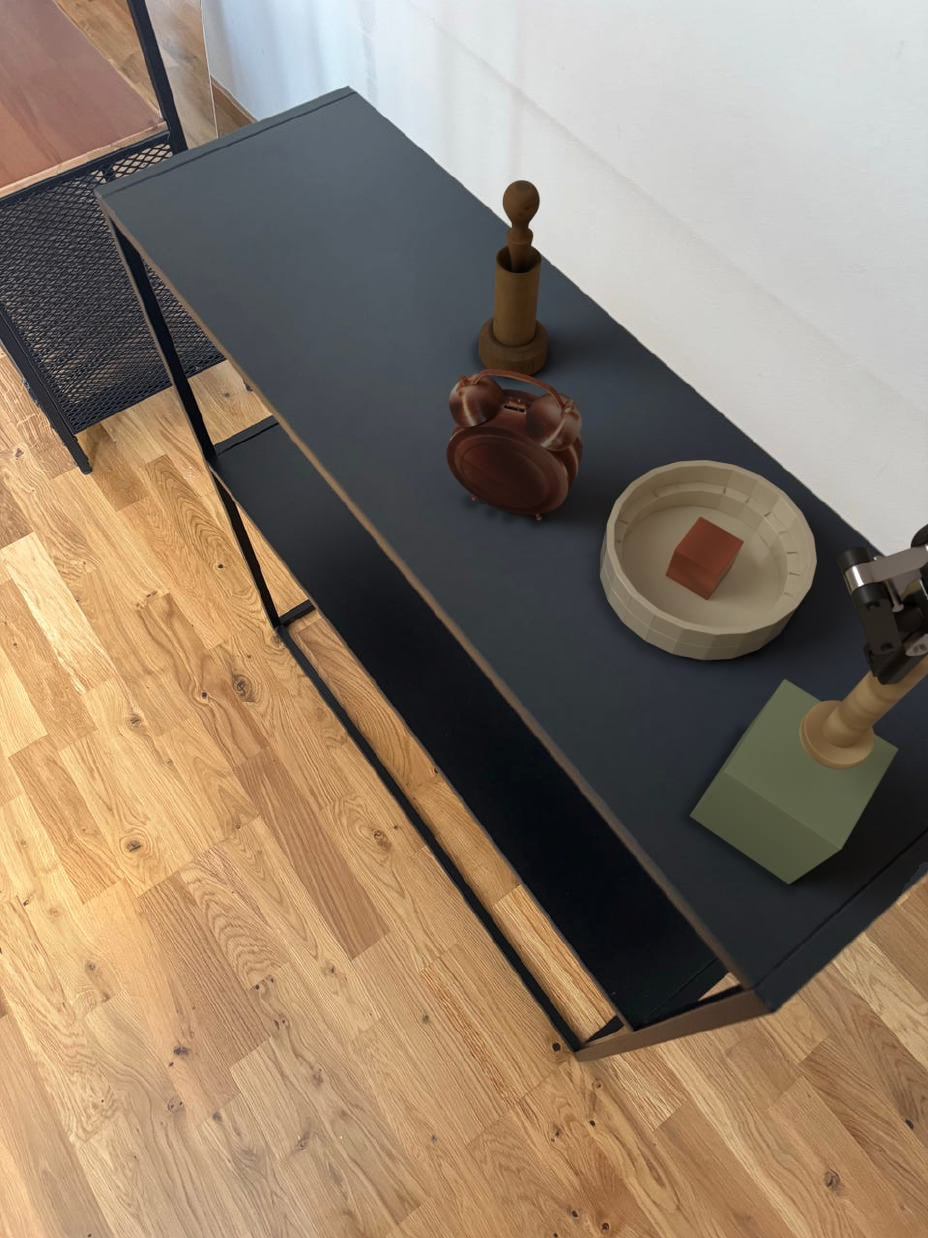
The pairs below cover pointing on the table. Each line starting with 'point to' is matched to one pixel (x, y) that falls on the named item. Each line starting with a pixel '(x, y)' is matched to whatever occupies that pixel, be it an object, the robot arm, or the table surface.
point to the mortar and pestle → (516, 292)
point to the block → (703, 558)
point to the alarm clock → (514, 443)
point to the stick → (852, 720)
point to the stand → (787, 791)
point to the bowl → (752, 589)
